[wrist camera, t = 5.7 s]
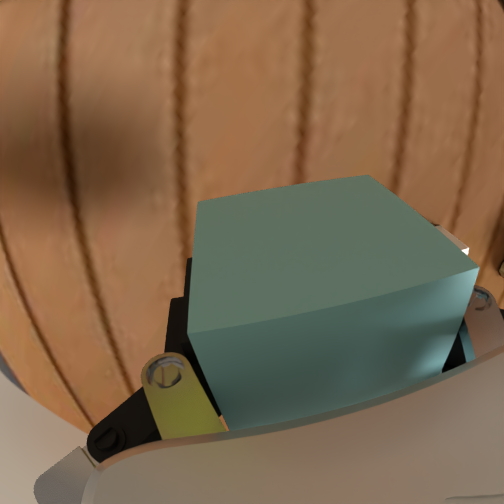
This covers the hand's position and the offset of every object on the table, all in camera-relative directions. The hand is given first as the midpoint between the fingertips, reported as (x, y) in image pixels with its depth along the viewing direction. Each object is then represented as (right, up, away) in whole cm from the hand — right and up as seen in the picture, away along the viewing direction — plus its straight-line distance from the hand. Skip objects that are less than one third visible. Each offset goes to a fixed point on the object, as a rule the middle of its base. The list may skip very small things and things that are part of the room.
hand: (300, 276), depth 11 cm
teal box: (0, +1, +1) cm, 1 cm away
